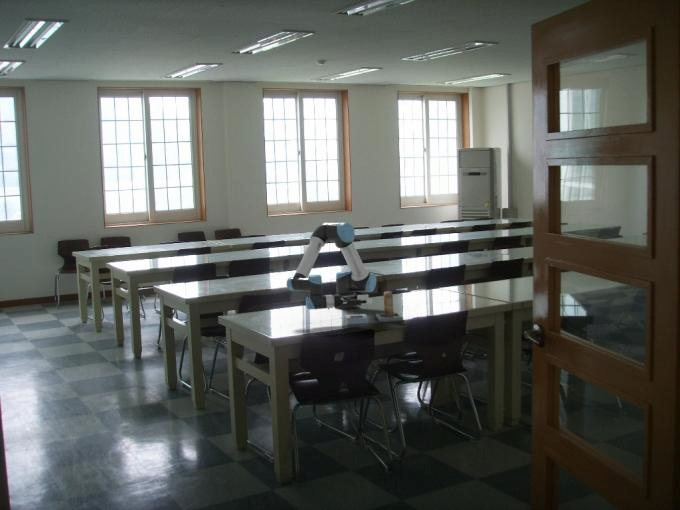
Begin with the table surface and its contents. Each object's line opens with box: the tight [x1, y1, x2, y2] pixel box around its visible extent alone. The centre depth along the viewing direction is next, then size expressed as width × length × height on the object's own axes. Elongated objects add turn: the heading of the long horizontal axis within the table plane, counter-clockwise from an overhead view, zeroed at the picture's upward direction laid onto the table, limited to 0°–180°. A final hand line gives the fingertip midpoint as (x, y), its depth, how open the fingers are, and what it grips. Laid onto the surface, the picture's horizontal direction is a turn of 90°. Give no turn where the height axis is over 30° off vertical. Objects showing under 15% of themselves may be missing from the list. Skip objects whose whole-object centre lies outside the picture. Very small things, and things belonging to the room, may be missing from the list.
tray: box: [375, 312, 404, 323], centre depth 431 cm, size 13×13×2 cm
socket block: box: [344, 313, 370, 325], centre depth 429 cm, size 12×12×3 cm
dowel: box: [383, 290, 394, 318], centre depth 430 cm, size 5×5×15 cm
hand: (370, 298), depth 429 cm, fingers open, 13 cm apart
